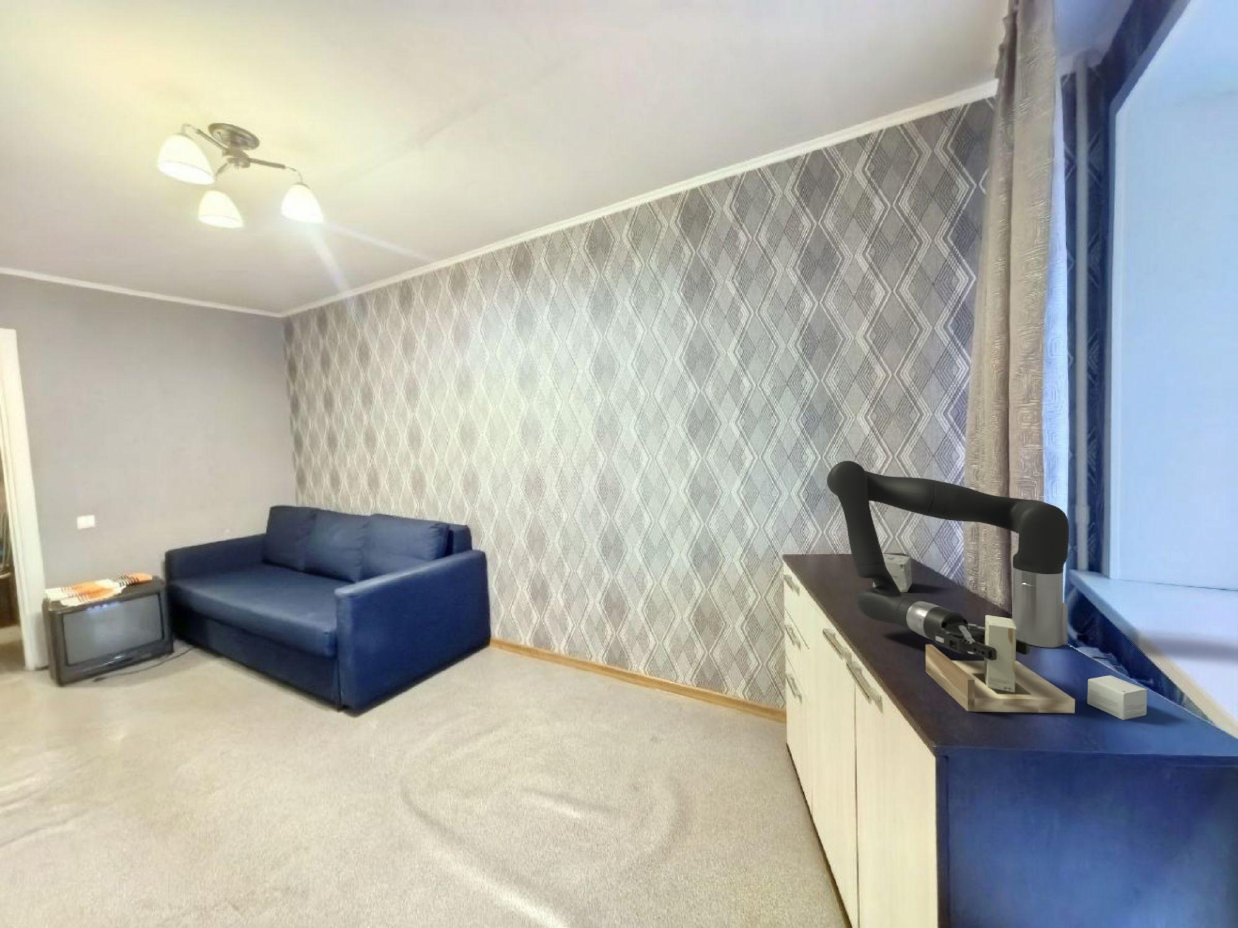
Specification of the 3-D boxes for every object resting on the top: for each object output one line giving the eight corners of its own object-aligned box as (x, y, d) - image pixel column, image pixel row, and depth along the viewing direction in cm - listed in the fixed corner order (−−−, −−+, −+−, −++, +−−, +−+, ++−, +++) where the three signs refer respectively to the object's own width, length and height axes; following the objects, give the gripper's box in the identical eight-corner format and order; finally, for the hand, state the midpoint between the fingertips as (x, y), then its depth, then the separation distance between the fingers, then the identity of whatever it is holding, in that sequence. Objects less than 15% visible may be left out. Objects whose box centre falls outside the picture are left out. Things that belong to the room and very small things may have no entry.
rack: (1016, 672, 104) (1017, 644, 104) (1074, 712, 89) (1075, 680, 89) (925, 671, 106) (925, 644, 106) (967, 711, 91) (967, 679, 91)
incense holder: (871, 588, 161) (871, 557, 160) (879, 582, 167) (878, 551, 166) (905, 594, 154) (905, 561, 153) (912, 587, 160) (912, 555, 159)
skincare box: (1015, 693, 92) (1017, 629, 91) (986, 687, 94) (988, 624, 93) (1010, 678, 97) (1013, 617, 96) (983, 673, 100) (985, 613, 99)
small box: (1147, 715, 88) (1148, 688, 87) (1123, 721, 87) (1123, 693, 86) (1109, 699, 93) (1110, 673, 93) (1086, 704, 92) (1086, 678, 92)
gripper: (908, 609, 107) (981, 637, 91) (961, 602, 111) (1040, 627, 95) (909, 644, 107) (981, 677, 91) (962, 635, 111) (1041, 666, 95)
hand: (1011, 652), depth 93 cm, fingers closed on skincare box, 7 cm apart
